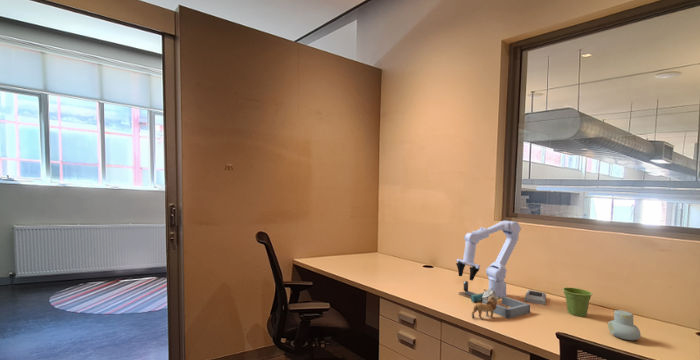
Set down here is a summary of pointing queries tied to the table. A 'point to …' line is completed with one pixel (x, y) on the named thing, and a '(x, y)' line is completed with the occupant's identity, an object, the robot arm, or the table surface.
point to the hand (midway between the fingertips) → (465, 278)
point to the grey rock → (489, 294)
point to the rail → (465, 294)
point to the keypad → (535, 297)
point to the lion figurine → (485, 307)
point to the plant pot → (577, 301)
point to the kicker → (473, 295)
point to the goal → (514, 311)
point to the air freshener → (624, 326)
